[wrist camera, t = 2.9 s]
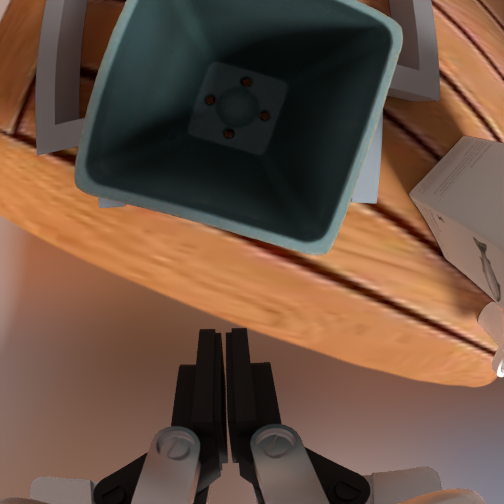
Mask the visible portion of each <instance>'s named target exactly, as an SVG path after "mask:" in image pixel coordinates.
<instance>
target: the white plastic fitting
mask: <svg viewBox="0 0 504 504" xmlns="http://www.w3.org/2000/svg"><path fill="white" fill-rule="evenodd" d="M478 324H479V325H480V326H481V327H482V328H483V329H484V330H485V331H486V332H487V334H488V335H489V336H490V337H491V338H492V339H493V340H494V342H495V343H496V344H497V345H498V346H499V348H498V350H497V352H496V354H495V356H494V358H493V361H492V369H493V370H494V371H495V373H496V374H497V375H498V376H499V377H503V376H504V310H502V309H501V308H500V307H499V306H498V305H497V304H496V303H495V302H490V303H489V304H487V305H486V306H485V307H484V308H483V310H482V311H481V313H480V315H479V318H478Z"/></svg>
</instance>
